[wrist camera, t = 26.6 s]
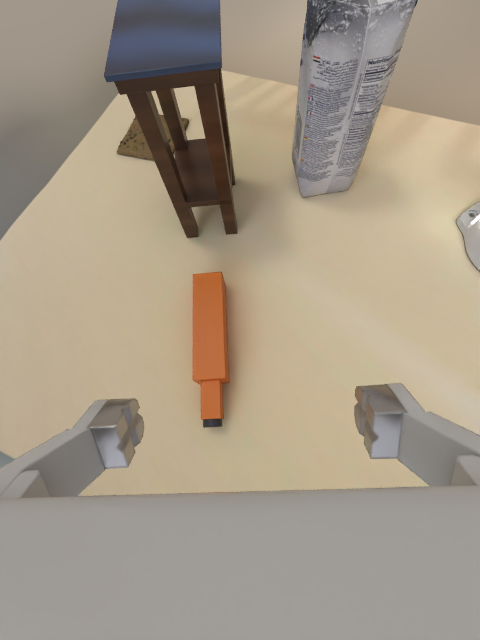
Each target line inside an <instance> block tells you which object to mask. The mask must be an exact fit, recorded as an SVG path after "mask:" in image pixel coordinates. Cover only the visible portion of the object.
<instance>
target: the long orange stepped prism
mask: <svg viewBox="0 0 480 640" xmlns="http://www.w3.org/2000/svg"><path fill="white" fill-rule="evenodd" d="M193 380H194V381H195V382H197V383H198V384H201V419H202V420H203V427H204V428H205V427H222V419H223V389H222V383H229V364H228V339H227V314H226V289H225V282H224V279H223V275H222V272H213V273H202V274H193Z"/></svg>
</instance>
